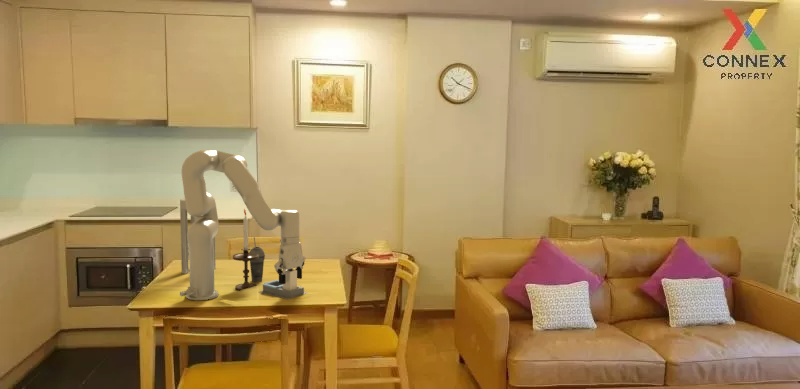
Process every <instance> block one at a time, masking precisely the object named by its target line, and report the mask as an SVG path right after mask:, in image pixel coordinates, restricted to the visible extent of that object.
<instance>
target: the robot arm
mask: <svg viewBox="0 0 800 389" xmlns="http://www.w3.org/2000/svg"><path fill="white" fill-rule="evenodd" d="M208 171H215V172H219V173H223V174H224V175H225V177H226V178H227V180H228V181H229V182H230V183H231V185H232V186H233V187H234V189H235V190H236V192H237V193H238V194H239V196H240V197H241V198H242V201H243V203H244V205H245V207H246V208H247V211H249V213H250V215H251V216H252V218H253V219H254V220H255V222H256V223H257V225H258V226H259V227H260V228H261V229H262V230H264V231H267V232H268V231H273V230H274V229H276V228H277V227H280V240H279V243H280V245H279V252H278V261H277V262H276V263H275V264H274V265H273V266H274V269H275V271H276V272H277V274H278V280H279V283H281V284H285V283H286V275H285V274H284V273H285V271H286V270H287V269H292V268H293V269H294V270H297V280H298V279H300V280H302V279H303V269H304V265H305V262H306V258H307V257H305V256H303V247H302V243H301V242H300V212H299V211H298V210H296V209H286V210H285V209H276V208H270V207H269V205H268V204H267V203H266V200H265V199H264V197H263V194H262V190H261V186H260V184H259V182H258V181H257V180H256V179H255V177H254V176H253V174H252V173H251V171H250V170H249V169H248V163H247V160H246V159H245V158H244V157H243V156H241V155H239V154H238V155H237V154H234V153H229V152H225V151H224V152H223V151H219V150H215V149H201V150H198V151H195V152H193V153H192V154H190V155H189V156H188V157H187V158H185V160H184V161H183V163H182V165H181V181H182V186H183V187H182V188H183V196H184V198H185V203H186V210H187V215H189V216H190V217H191V216H193V217H195V222H194V223H193V224H191V223H190V226H188V232H187V239H188V246H189V249H188V252H189V255H188V265H189V286H187V289H186V290H183V291H179V296H180V297H184V296H185V298H186V299H187V298H188V300H190V301H208V299H209V300H213V299H216V298H217V297H219V291H218V290H215V287H216V286H215V270H214V248H213V241H212V238H214V237H215V238H216V236H217V234H218V233H219V231H220V229H219V228H220V227H219V225H220V224H219V217H218V211H217V210H218V209H217V203H216V199H215V198H214V196H213V195H212V194H211V193H209V192H207V186H206V181H205V180H206V179H205V177H204V174H205V173H206V172H208ZM214 199H215V200H214Z"/></svg>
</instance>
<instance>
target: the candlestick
mask: <svg viewBox="0 0 800 389" xmlns="http://www.w3.org/2000/svg"><path fill="white" fill-rule="evenodd" d="M243 213H244V217H243V222H242V223H243V226H242V227H243V228H242V230H243V248H242V249H241V251H242V252H241V253H235V254H233V255H232V259H233V260H235V261H238V262H239V261H240V262H244V264H243V266H244V269H243V270H242V273H243V279H244V282H243V283H239V284H236V285H235V288H234V289H235V290H236V291H244V290H246V289H250V288H253V287H257V286H258V285H257V284H256V283H254V282H252V283H251V282H249V278H250V276H249V273H250V270H249V269H248V268H249V266H248V265H249V264H248V262H250V260H255V259H258V258H259V254H256V253H249V251H250V250H251V249H252V248H249V218H248V217H247V212H246V209H245V208H244V209H243Z"/></svg>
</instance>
